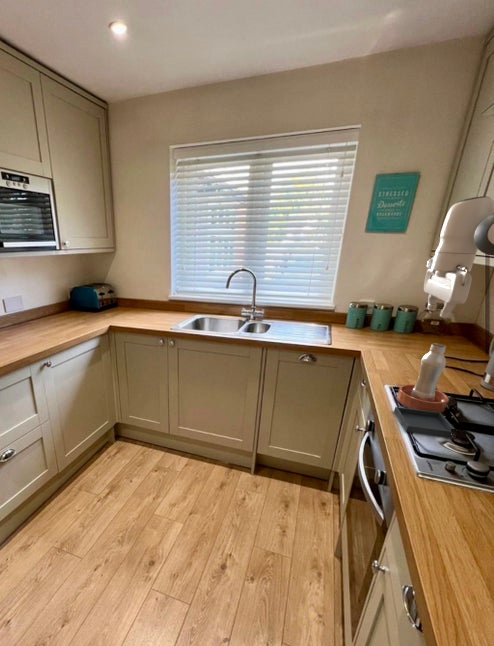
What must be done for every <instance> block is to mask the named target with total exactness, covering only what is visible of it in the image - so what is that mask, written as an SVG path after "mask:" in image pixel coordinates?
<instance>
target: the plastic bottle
mask: <svg viewBox="0 0 494 646" xmlns="http://www.w3.org/2000/svg"><path fill="white" fill-rule="evenodd" d="M446 349H447V346H446V345H445V344H441V343H431V345H430V347H429V352H427V353H425V354H424V355H423V356H422V358H421V359H420V364H419V365H420V366H419V372H418V376H417V379H416V382H415V384H414V385H415V386H414V388H413V390H412V392H411V397H413V398H416V399H419V400H423V401H428V402H433V401H434V400H435V391H436V390H437V386H438V382H439V380H440V378H441V376H442V373H443V371H444V370H445V368H446V365H447V359H446V357H445V355H444V353H446Z"/></svg>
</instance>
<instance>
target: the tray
mask: <svg viewBox="0 0 494 646" xmlns="http://www.w3.org/2000/svg"><path fill="white" fill-rule="evenodd" d="M393 414H394V415H395V417H396V419H397V420H398V422H399V423H400V425H401V426H402V428H403V429H404V431H405V432H406V433H412V434H419V435H425V436H426V435H427V436H434V437H442V438H449V439H454V438H453V437H452V435H451V429H456V428H455V427H454V426H453V425H452V424H451V422H449V419H447V418H446V417H445V416H444V415H443V414H442V413H440V412H434V411H425V410H417V409H410V408H407V407H399V406H395V407H394V410H393Z"/></svg>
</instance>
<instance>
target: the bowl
mask: <svg viewBox="0 0 494 646" xmlns="http://www.w3.org/2000/svg"><path fill="white" fill-rule="evenodd" d="M414 386H415V384H407V383H406V384H402V385H401V386H399V388H398V390H397V394H396V400H397V402H398V403H399V404H401V406H404V408H409V409H417V410H425V411H434V412H440V413H441V414H442V413H444V412H445V411H446V409H447V407H448V404H449V401H450V398H449V396H448V395H447V394H445V393H444V392H443V391H440V390H438V389H436V391H435V400H434V401H433V402H428V401H423V400H419V399H416V398H413V397H411V392H412V390H413V388H414ZM436 400H437V401H436ZM445 408H446V409H445Z"/></svg>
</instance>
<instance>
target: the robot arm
mask: <svg viewBox="0 0 494 646" xmlns="http://www.w3.org/2000/svg"><path fill="white" fill-rule="evenodd" d="M478 251H480V252H481V253H482V254H485V255H487V256H492V257H494V200H493V199H492V198H491V197H490V196H486V195H483V196H482V195H481V196H475V197H469V198H464V199H462V200H459V201H456V202H454V204H452V205H451V206H450V208H449V209H448V211H447V214H446V216H445V218H444V221H443V225H442V227H441V230H440V234H439V244H438V246H437V248H436V250H435V253H434V256H432V257H431V258H430V259H428V260H427V262H426V268H427V270H426V274H425V276H424V277H425V278H424V282H423V292H424V293H426V294H428V297H427V306H426V307H427V310H428V311H433V312H435V311H436V310H437V306H438V304H437V302H438V299H439V300H441V301H443V302H444V303H443V305H444V306H443V308H442V309H441V310H440V311H439V317H440V318H441V319H442V318H443V319H449V317H450V316H451V312H452V311H453V310H454V308H456V305H464V304H465V303H466V302H467V300H468V297H469V293H470V289H471V286H472V279H473V277H472V275H471V273H470V272H471V271H472V268H473V265H474V262H475V259H476V255H477V253H478Z"/></svg>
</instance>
